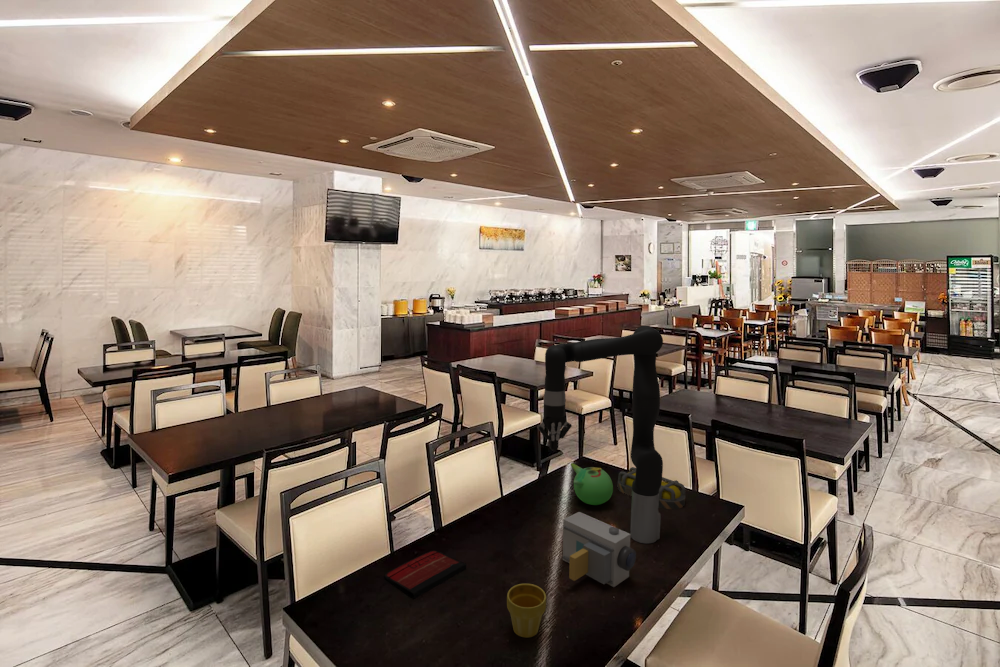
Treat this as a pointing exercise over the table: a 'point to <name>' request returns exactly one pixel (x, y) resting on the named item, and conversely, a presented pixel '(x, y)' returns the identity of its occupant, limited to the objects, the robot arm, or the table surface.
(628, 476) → the cage light
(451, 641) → the table surface
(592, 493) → the toy bird
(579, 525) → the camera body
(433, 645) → the table surface
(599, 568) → the door
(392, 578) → the binder
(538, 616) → the plant pot
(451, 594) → the table surface
